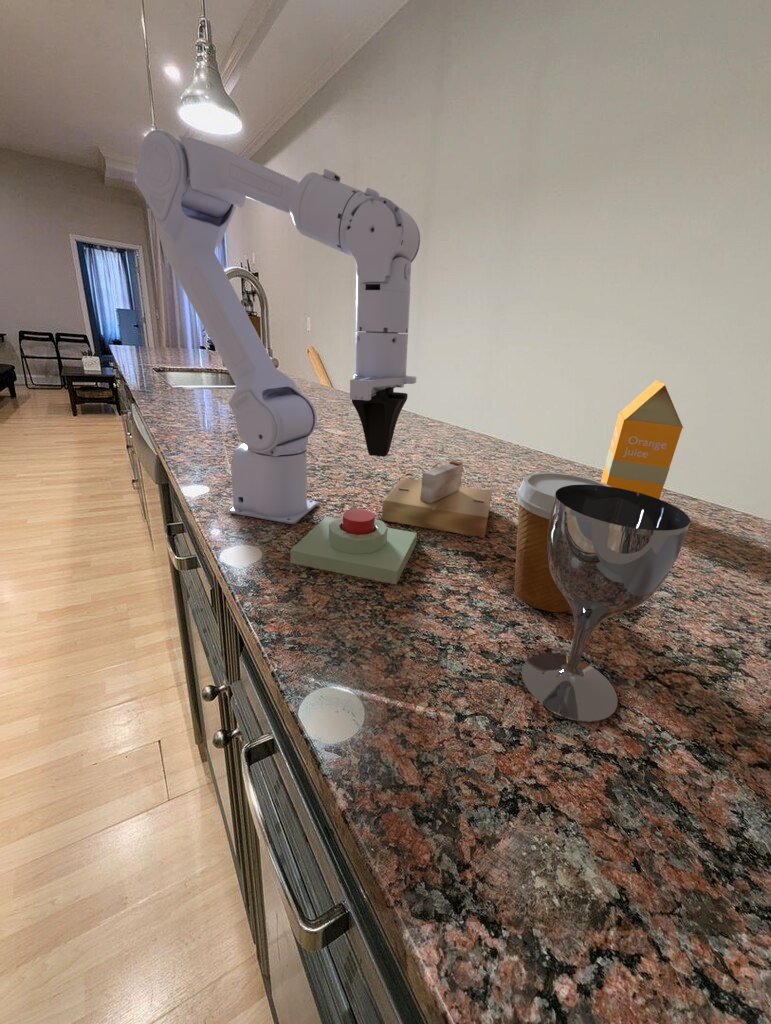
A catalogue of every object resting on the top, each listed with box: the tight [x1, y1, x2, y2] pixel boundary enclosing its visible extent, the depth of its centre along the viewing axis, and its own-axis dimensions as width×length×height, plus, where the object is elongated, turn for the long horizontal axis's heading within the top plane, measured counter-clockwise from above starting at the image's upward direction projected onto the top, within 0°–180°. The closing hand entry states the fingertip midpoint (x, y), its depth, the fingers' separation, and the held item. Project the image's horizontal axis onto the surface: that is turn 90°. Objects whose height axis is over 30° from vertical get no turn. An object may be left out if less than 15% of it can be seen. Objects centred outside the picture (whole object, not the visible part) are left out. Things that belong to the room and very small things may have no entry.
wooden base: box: [381, 477, 493, 538], centre depth 64 cm, size 14×12×3 cm
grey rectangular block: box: [420, 460, 464, 503], centre depth 63 cm, size 8×2×4 cm, turn 142°
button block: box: [289, 516, 418, 585], centre depth 51 cm, size 12×10×4 cm
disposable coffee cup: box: [513, 471, 611, 613], centre depth 44 cm, size 10×10×12 cm
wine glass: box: [521, 485, 691, 723], centre depth 32 cm, size 8×8×15 cm
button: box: [342, 508, 376, 535], centre depth 50 cm, size 4×4×2 cm
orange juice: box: [600, 378, 684, 499], centre depth 69 cm, size 8×9×20 cm
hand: (378, 454), depth 54 cm, fingers closed
